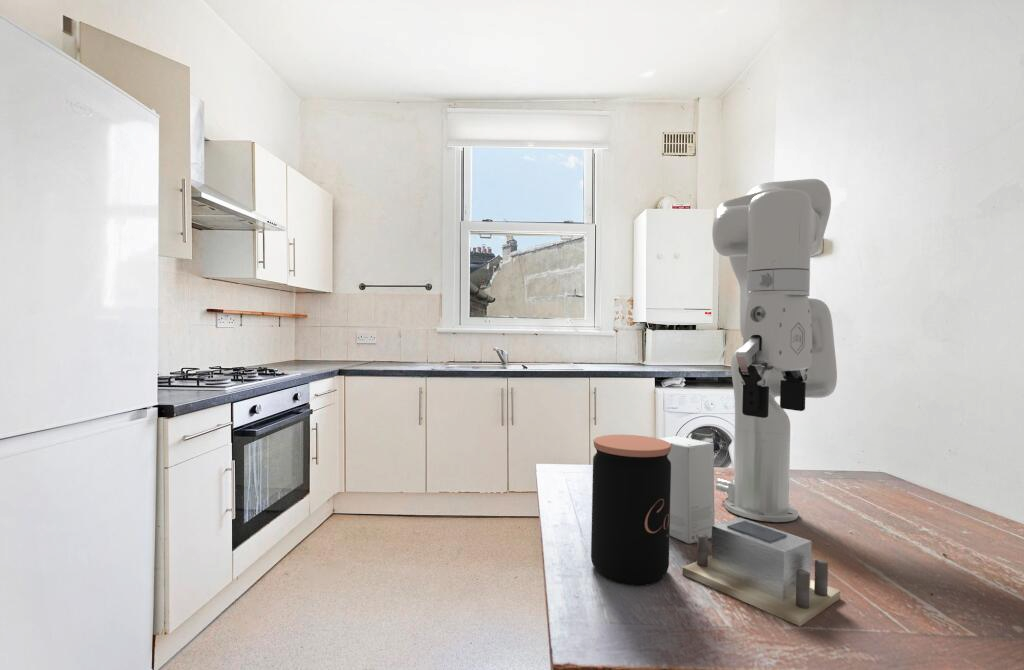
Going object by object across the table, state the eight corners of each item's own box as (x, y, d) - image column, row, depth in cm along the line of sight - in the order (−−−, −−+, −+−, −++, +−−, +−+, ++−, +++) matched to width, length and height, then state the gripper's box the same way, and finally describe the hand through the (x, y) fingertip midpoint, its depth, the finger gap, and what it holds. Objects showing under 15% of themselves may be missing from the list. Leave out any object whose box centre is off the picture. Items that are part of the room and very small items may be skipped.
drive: (711, 569, 72) (712, 524, 72) (738, 558, 75) (739, 515, 75) (783, 601, 63) (784, 550, 63) (810, 587, 67) (811, 539, 67)
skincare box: (715, 538, 85) (717, 443, 85) (686, 546, 82) (689, 447, 82) (676, 521, 93) (678, 434, 92) (648, 528, 89) (650, 437, 89)
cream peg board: (682, 574, 72) (683, 538, 72) (726, 555, 79) (726, 522, 79) (800, 626, 60) (801, 582, 60) (840, 598, 66) (841, 559, 66)
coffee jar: (655, 596, 66) (658, 454, 66) (578, 574, 72) (580, 443, 71) (677, 565, 75) (680, 440, 75) (607, 547, 81) (609, 431, 80)
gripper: (772, 280, 62) (768, 424, 62) (836, 287, 72) (833, 411, 72) (714, 283, 68) (712, 414, 68) (781, 290, 78) (778, 403, 78)
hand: (774, 412), depth 70 cm, fingers open, 9 cm apart
